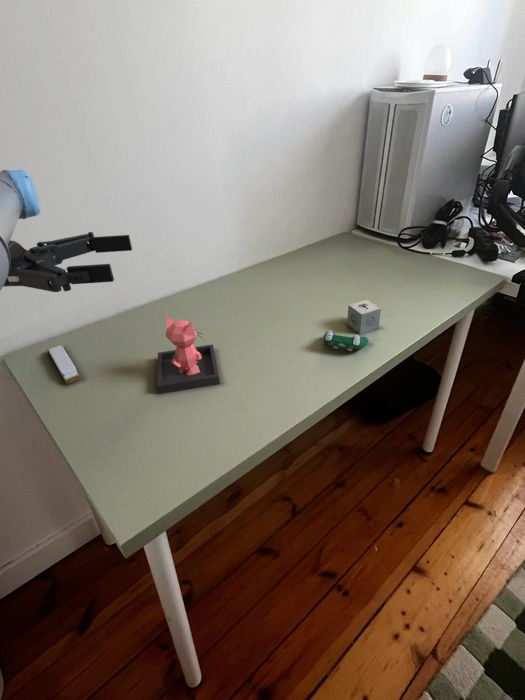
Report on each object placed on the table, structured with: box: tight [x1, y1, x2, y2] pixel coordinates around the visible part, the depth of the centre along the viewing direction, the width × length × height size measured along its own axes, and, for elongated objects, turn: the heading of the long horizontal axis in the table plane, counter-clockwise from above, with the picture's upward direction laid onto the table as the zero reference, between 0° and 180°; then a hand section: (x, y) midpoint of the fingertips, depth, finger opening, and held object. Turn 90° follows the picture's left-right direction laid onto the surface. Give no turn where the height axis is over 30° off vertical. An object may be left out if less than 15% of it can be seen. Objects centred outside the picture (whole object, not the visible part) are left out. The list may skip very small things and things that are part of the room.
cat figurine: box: [164, 314, 204, 375], centre depth 84 cm, size 7×7×12 cm
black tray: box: [156, 344, 221, 394], centre depth 87 cm, size 12×12×2 cm
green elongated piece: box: [323, 330, 369, 352], centre depth 91 cm, size 9×4×6 cm
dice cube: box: [346, 299, 382, 335], centre depth 97 cm, size 5×5×5 cm
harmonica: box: [47, 344, 81, 385], centre depth 91 cm, size 15×3×2 cm, turn 36°
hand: (121, 256), depth 73 cm, fingers open, 13 cm apart
